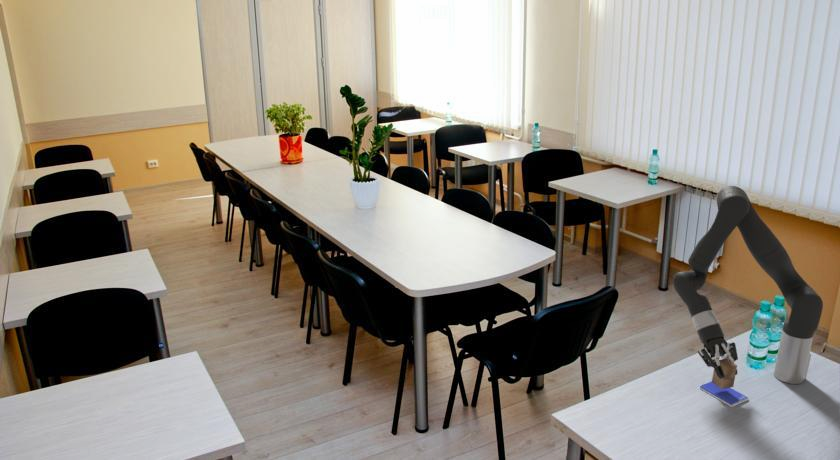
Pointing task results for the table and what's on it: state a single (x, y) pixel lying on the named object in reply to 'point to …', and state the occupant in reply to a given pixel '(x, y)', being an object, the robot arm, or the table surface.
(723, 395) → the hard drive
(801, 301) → the robot arm
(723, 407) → the table surface
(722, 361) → the walnut block
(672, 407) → the table surface
